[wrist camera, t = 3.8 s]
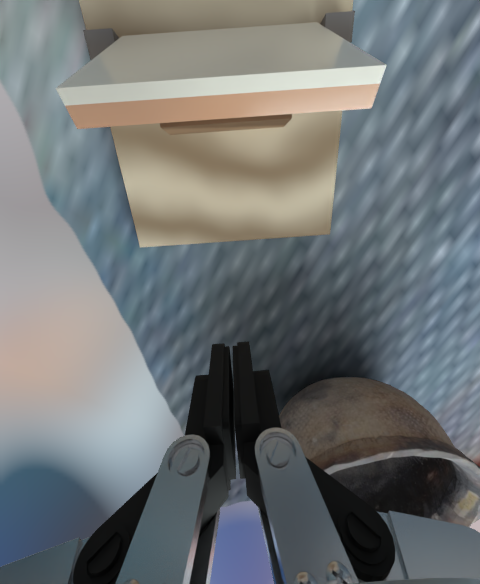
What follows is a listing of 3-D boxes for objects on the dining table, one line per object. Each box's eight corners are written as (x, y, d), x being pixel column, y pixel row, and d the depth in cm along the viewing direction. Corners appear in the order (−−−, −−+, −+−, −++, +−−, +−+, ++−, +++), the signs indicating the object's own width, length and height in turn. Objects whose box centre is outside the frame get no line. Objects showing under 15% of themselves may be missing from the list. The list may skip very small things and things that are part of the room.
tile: (133, 61, 18) (124, 33, 17) (309, 49, 18) (314, 20, 17) (77, 128, 11) (55, 88, 10) (371, 108, 11) (386, 64, 10)
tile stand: (20, -282, 13) (-76, -492, 9) (373, -307, 13) (436, -530, 9) (145, 244, 26) (128, 255, 22) (324, 231, 26) (342, 240, 22)
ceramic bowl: (261, 448, 42) (275, 575, 28) (255, 353, 33) (271, 473, 19) (384, 438, 42) (458, 562, 28) (413, 340, 33) (543, 452, 19)
